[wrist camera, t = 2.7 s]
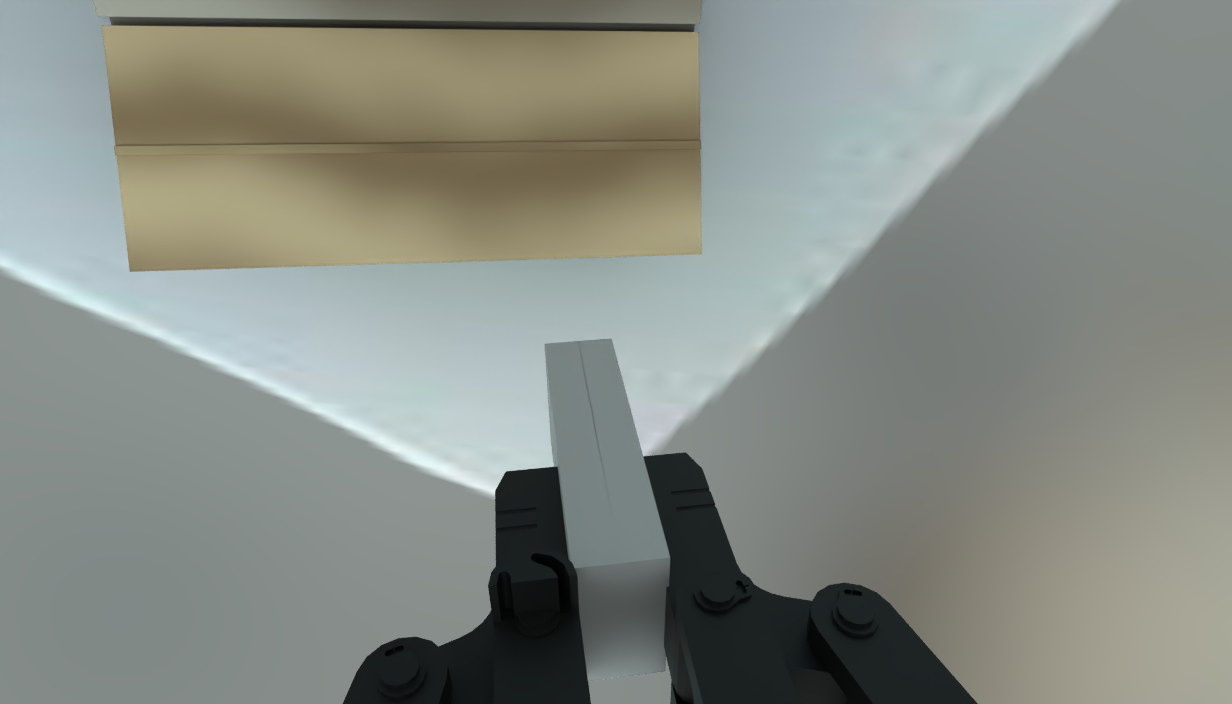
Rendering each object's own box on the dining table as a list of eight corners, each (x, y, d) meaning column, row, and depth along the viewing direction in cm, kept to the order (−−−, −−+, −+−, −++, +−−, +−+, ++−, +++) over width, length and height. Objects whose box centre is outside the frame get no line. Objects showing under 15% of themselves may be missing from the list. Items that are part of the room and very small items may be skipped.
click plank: (120, 35, 26) (100, 24, 25) (690, 41, 29) (699, 31, 27) (146, 270, 27) (128, 271, 26) (693, 254, 30) (702, 254, 28)
